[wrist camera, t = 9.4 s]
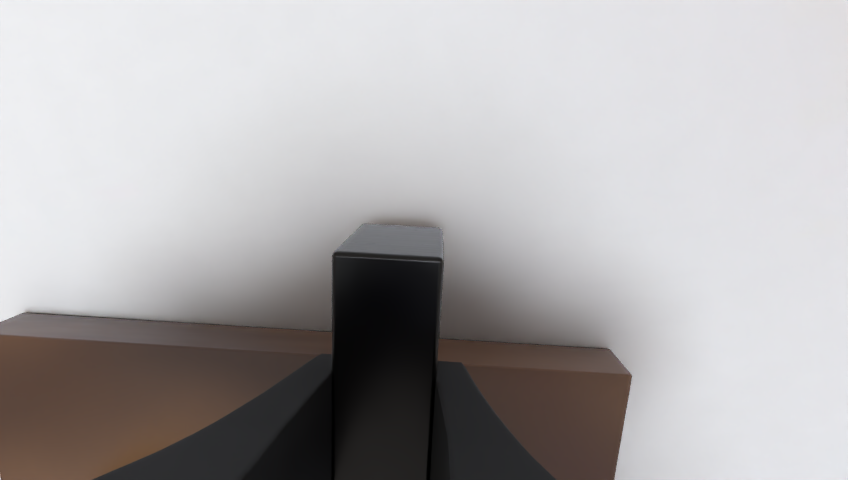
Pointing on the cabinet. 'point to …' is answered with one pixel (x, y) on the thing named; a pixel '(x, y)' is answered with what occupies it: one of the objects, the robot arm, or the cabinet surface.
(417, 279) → the knife
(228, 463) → the robot arm
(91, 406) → the board
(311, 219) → the cabinet surface
